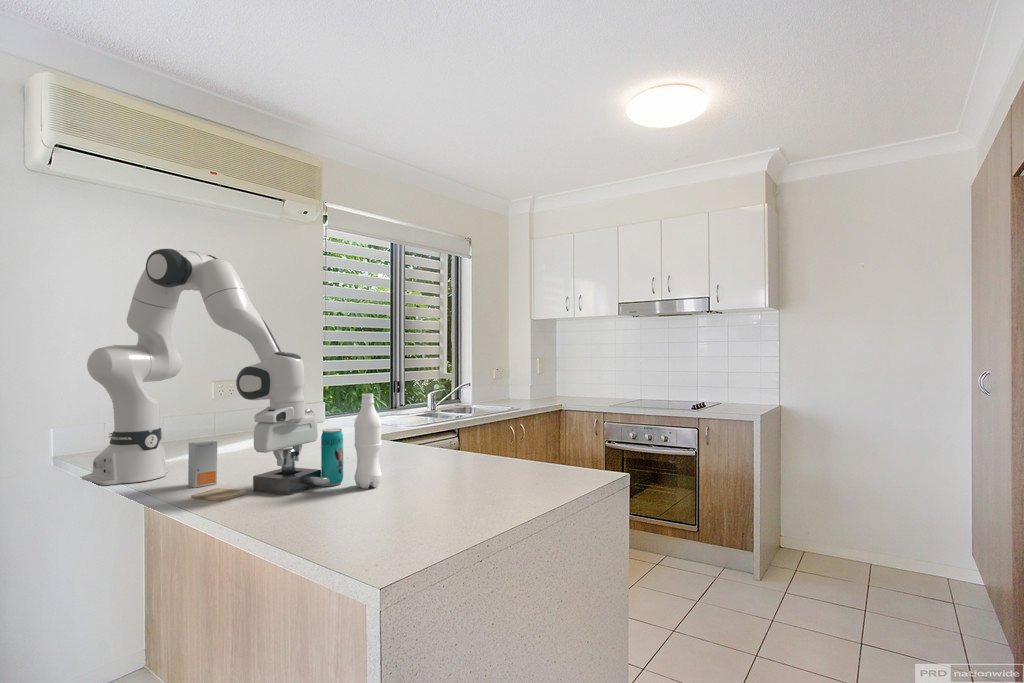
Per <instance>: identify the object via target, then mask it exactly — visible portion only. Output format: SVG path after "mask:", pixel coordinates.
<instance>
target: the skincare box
mask: <svg viewBox="0 0 1024 683" xmlns="http://www.w3.org/2000/svg"><path fill="white" fill-rule="evenodd" d="M187 464H188V465H187V466H188V467H187V468H188V470H187V472H188V473H187V474H188V476H187V478H188V480H187V482H188V483H187V484H188V485H187V486H188V487H191V488H195V489H196V488H200V487H201V488H203V487H207V486H213V485H217V483H218V441H217V440H214V439H209V440H208V439H206V440H200V441H192V442H188V463H187Z"/></svg>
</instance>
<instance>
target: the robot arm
mask: <svg viewBox="0 0 1024 683" xmlns="http://www.w3.org/2000/svg"><path fill="white" fill-rule="evenodd" d="M241 279H242V278H241V277H240V276H239V274H238V273H237V271H236V269H235V268H234V267H233V265H232V264H231V263H230V262H229V261H227V260H225V259H221V258H219V257H216V256H214V255H212V254H206V253H205V254H204V253H200V252H199V251H198V252H196V251H192V250H182V249H181V250H177V249H173V248H159V249H156V250H153V251H152V252H151V253H150V254H149V256H148V257H147V259H146V262H145V268H144V270H143V271H142V273H141V275H140V276H139V280H138V282H137V284H136V286H135V288H134V292H133V296H132V298H131V303H130V306H129V309H128V312H127V316H126V323H127V324H126V325H127V326H128V328H130V329H131V330H132V331H133V332H134V333H136V334H137V338H138V339H137V343H136V345H135V344H128V345H127V344H125V345H124V344H122V345H121V344H116V345H115V344H113V345H109V346H103V347H98V348H96V349H94V350H93V351H91V353H90V355H89V356H88V359H87V363H86V368H87V372H88V374H89V375H90V377H91V378H92V379H93V380H94V381H95V382H97V383H98V384H100V385H101V386H102V387H103V388H104V389H105V391H106V392H107V394H108V396H109V397H110V399H111V400H110V401H111V403H112V407H113V408H112V409H113V420H114V421H113V422H114V426H113V427H114V428H113V431H112V432H110V433H108V435H110V436H108V438H110V439H109V445H108V446H106V448H104V449H103V450H102V451H101V452H100V453H99V454H98V455H96V456H95V457H94V459H93V461H92V462H93V463H92V473H88V474H85V475H82V477H81V479H82V481H87V482H91V483H95V484H98V485H100V486H101V485H102V486H109V485H117V484H119V485H120V484H129V483H130V484H131V483H138V482H145V481H146V482H147V481H151V480H156V479H159V478H162V477H164V476H166V475H167V473H169V468H168V467H166V460H165V450H164V448H165V447H164V445H163V444H162V443H161V440H162V434H163V433H162V428H161V427H160V425H161V424H160V420H161V419H160V415H161V414H160V412H161V411H160V408H161V407H160V403H159V400H158V399H156V398H155V397H153V396H151V395H149V394H148V392H146V390H145V388H144V383H147V382H149V383H150V382H161V381H165V380H169V379H173V378H174V377H176V376H178V374H179V373H180V371H181V369H182V366H183V360H182V356H181V354H180V352H179V351H178V350H177V349H176V348H175V347H174V344H173V341H172V337H171V334H172V333H171V332H172V326H173V323H174V322H173V321H174V317H175V314H176V311H177V308H178V305H179V304H178V303H179V299H180V296H181V294H182V293H183V292H184V291H199V293H200V295H201V296H200V297H201V298H202V302H203V303H204V306H205V308H206V312H207V313H208V315H209V317H210V319H211V320H212V322H213V323H215V324H216V325H217V326H218V327H220V328H222V329H225V330H228V331H230V332H232V333H235V334H237V335H239V336H241V337H242V338H244V339H245V340H247V341H248V342H249V344H250V345H251V346H252V348H253V349H254V351H255V354H257V356H258V359H259V362H258V363H257V362H256V363H255V364H251V365H249V366H245V367H243V368H242V369H241V370H240V371H239V373H238V374H237V377H236V380H235V385H236V386H235V387H236V390H237V392H238V394H239V395H240V396H241V397H242V398H243V399H245V400H249V401H260V400H262V401H263V400H269V406H267V407H266V408H264V409H263V410H261V411H259V412H257V413H256V414H255V415H254V422H255V423H256V424H255V425H254V430H253V448H254V449H253V450H255V452H257V453H266V454H267V453H270V452H272V453H273V455H274V458H275V459H276V465H277V466H278V467H282V466H283V465H286V458H283V455H282V453H283V449H286V448H295V451H299V456H295V463H297V462H299V461H300V454H301V452H302V450H303V445H306V444H309V443H313V442H316V441H317V440H318V437H319V431H318V422H317V419H316V414H315V412H314V411H313V410H312V408H309V409H308V408H307V409H306V398H305V394H304V390H305V385H306V374H305V365H304V361H303V358H302V357H301V356H300V355H298V354H296V353H294V352H285V351H282V350H281V348H280V347H279V346H280V345H278V343H277V341H276V339H275V336H274V335H273V333H272V331H271V329H270V328H269V326H268V325H267V323H266V321H265V320H264V319H263V317H262V316H261V315H260V314H259V312H258V310H256V308H255V306H254V304H253V303H252V301H251V299H250V297H249V295H248V293H247V290H246V287H245V285H244V283H243V281H242V280H241Z"/></svg>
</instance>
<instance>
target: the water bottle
mask: <svg viewBox="0 0 1024 683" xmlns="http://www.w3.org/2000/svg"><path fill="white" fill-rule="evenodd" d="M374 397H375V396H374V393H361V402H360V403H361V407H360V410H359V412H358V413H357V416H356V418H355V420H354V423H353V424H354V425H353V427H354V447H355V452H356V459H357V461H356V469H355V473H354V481H355V485H356V486H357V487H358V488H361V489H364V490H367V489H369V487H370V486H371V487H372V488H378V487H379V485H380V484H381V481H382V476H383V473H382V471H381V470H382V469H381V466H380V449H381V447H382V444H383V443H382V420H381V417H380V415H379V414H378V412H377V411H376V410H377V409H376V408H375V399H374Z"/></svg>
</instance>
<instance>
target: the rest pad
mask: <svg viewBox="0 0 1024 683" xmlns="http://www.w3.org/2000/svg"><path fill="white" fill-rule="evenodd" d="M246 494H248V490H243V489H241V490H240V489H230V488H222V487H217V488H214V489H210V490H205V491H202V492H199V493H195V494H192V495H191V497H190V498H191V499H199V500H207V501H208V500H209V501H214V502H215V501H216V502H222V501H226V500H230V499H232V498H235V497H239V496H242V495H246Z"/></svg>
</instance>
